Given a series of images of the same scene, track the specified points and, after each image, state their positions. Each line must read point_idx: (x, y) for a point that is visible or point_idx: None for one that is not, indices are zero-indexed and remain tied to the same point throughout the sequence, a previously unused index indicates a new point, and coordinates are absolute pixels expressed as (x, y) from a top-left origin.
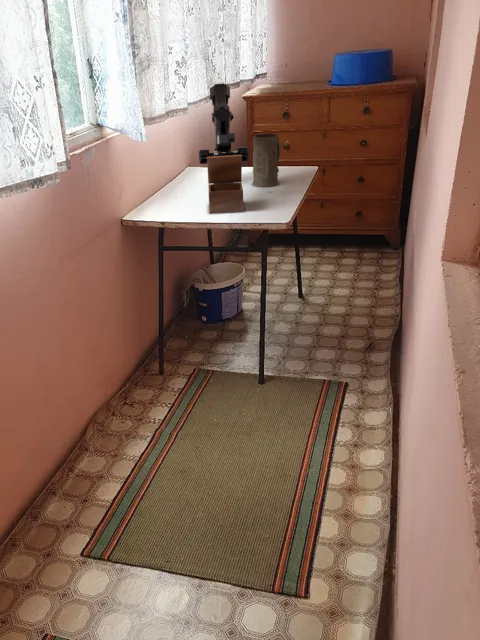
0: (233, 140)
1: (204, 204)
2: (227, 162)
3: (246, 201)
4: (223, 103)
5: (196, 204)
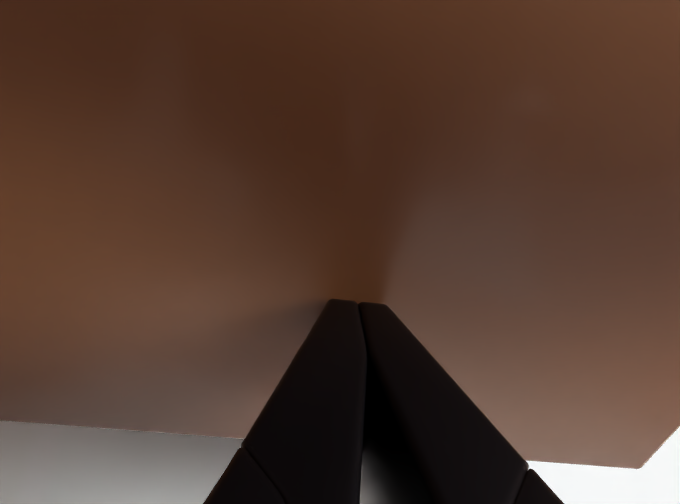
0: None
1: (538, 468)
2: None
3: (20, 455)
4: None
5: (627, 497)
